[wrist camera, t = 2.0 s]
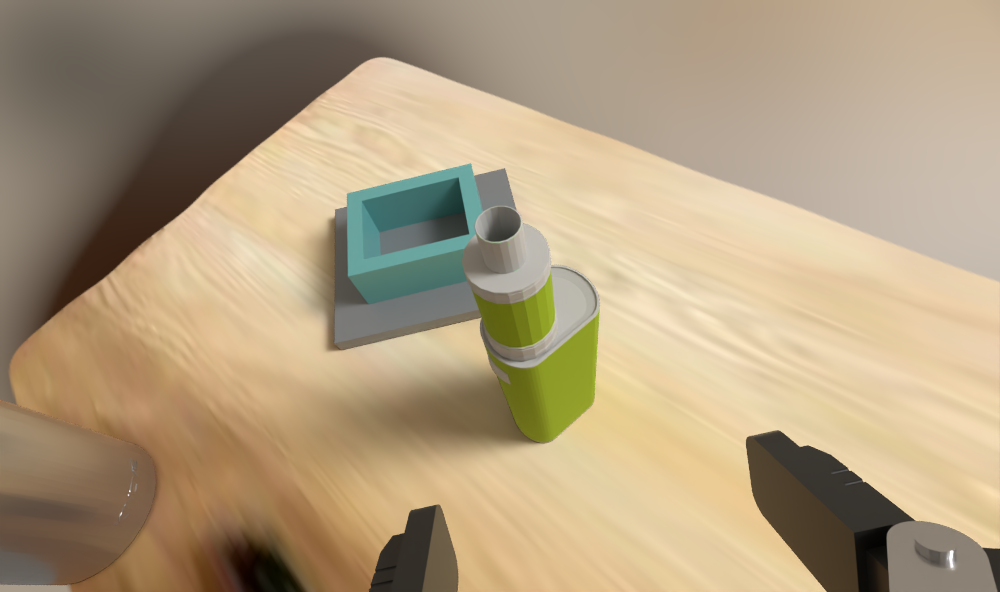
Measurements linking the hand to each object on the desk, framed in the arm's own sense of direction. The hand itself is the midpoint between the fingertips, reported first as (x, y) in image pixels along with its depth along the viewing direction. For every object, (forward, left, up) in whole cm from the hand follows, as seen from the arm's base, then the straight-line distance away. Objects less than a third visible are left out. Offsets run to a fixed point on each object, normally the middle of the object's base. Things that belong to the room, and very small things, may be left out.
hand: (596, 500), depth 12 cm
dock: (-7, +24, -19) cm, 31 cm away
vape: (0, +9, -19) cm, 21 cm away
